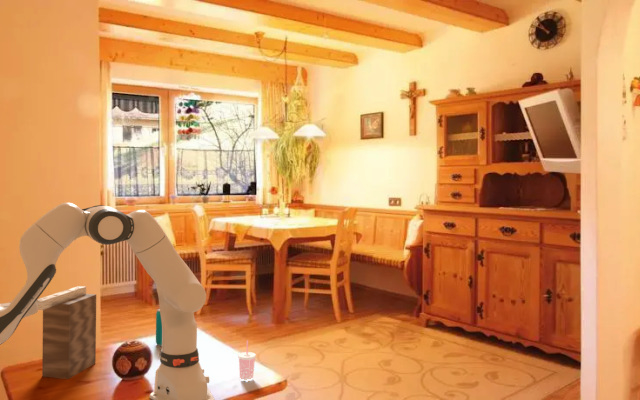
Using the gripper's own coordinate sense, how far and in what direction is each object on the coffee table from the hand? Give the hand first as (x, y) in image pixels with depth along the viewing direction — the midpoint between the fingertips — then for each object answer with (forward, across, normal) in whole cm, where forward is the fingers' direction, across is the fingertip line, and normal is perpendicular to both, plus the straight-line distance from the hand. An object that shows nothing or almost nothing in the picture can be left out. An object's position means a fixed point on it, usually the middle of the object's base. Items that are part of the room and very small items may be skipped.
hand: (25, 303), depth 166 cm
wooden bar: (+18, +4, +5) cm, 19 cm away
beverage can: (+56, -6, +37) cm, 68 cm away
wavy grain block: (+20, +9, +31) cm, 38 cm away
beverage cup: (+34, -54, +43) cm, 76 cm away
